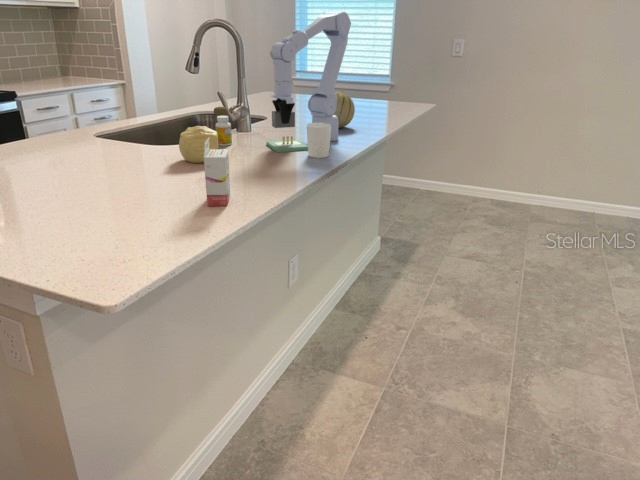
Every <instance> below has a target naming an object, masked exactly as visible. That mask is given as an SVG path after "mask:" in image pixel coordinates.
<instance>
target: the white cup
mask: <svg viewBox="0 0 640 480" xmlns="http://www.w3.org/2000/svg"><path fill="white" fill-rule="evenodd" d="M330 137H331V125H330V124H327V123H312V122H310V123H308V124H306V139H307V140H306V141H307V142H306V143H307V145H308V150H307V153H308V154H307V155H308V157H310V158H315V159H323V158H324V159H325V158H327V157H329V155H330V147H331V141H330Z"/></svg>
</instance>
